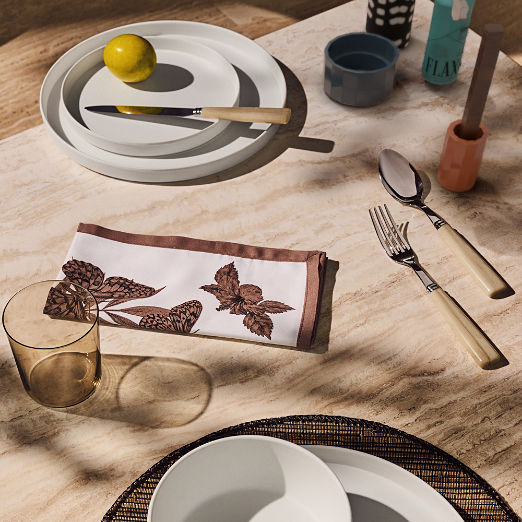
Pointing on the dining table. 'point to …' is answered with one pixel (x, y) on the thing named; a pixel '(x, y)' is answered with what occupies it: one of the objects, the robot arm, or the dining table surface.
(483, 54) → the stirring stick
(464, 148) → the crock
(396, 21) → the glass
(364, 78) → the bowl
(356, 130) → the dining table surface
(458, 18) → the robot arm
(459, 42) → the beverage bottle
